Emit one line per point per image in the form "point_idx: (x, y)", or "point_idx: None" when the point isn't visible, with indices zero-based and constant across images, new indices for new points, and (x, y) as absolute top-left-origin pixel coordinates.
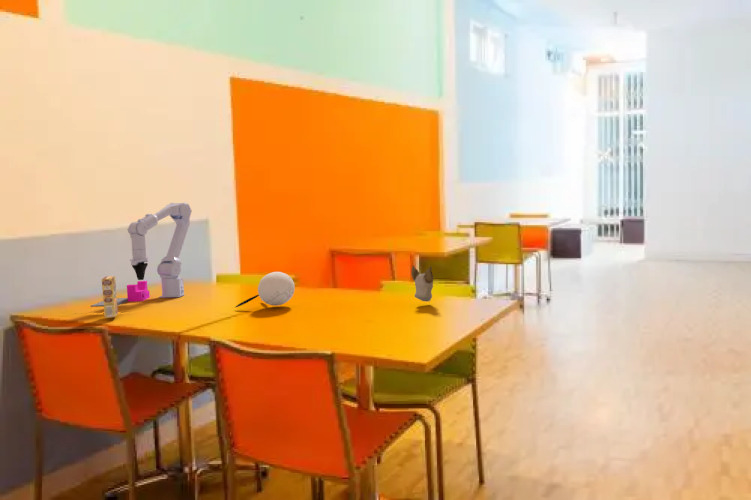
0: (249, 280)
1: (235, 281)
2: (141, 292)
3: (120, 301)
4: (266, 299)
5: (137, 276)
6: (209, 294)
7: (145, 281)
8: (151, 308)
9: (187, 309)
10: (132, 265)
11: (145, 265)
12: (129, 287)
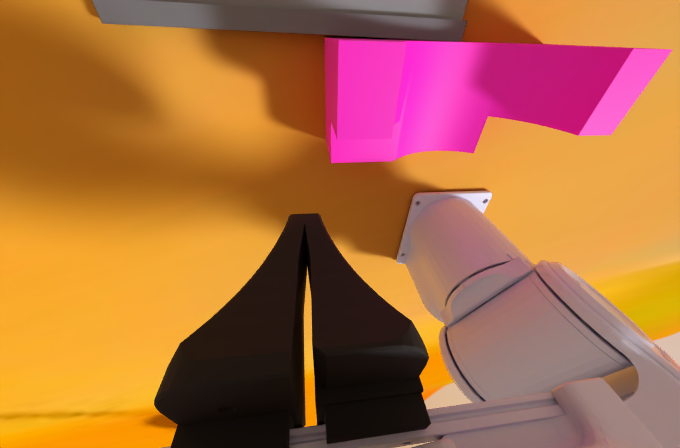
0: (649, 310)
1: (669, 290)
2: (338, 159)
3: (211, 14)
4: None
5: (283, 237)
6: (426, 310)
7: (579, 134)
8: (113, 264)
9: (141, 347)
10: (165, 375)
11: (304, 412)
12: (334, 73)
